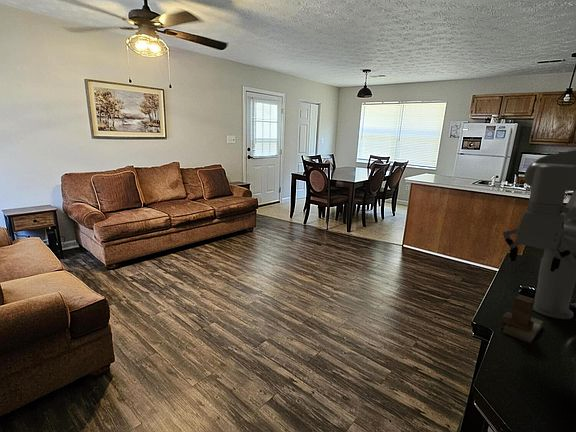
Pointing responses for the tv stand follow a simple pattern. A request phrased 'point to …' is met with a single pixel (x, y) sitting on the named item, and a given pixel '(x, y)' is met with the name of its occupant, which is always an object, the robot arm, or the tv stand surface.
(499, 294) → the tv stand surface
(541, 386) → the tv stand surface
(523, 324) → the brown slider knob
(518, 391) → the tv stand surface
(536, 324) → the board
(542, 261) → the wrench
